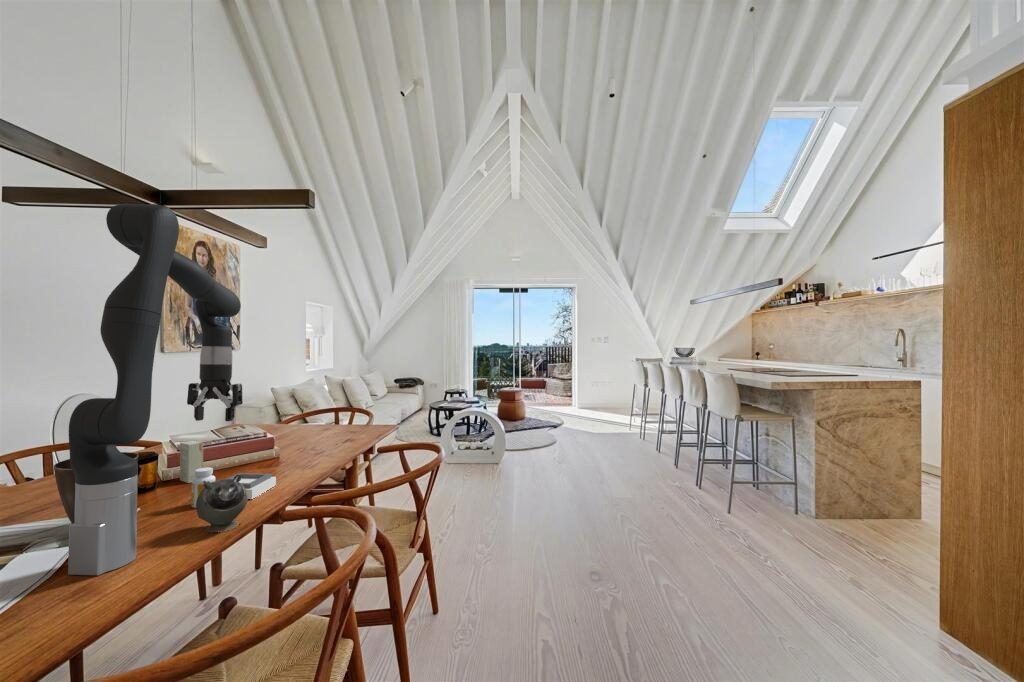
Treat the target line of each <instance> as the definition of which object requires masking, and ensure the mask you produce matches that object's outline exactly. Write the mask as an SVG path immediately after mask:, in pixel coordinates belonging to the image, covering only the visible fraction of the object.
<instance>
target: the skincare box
mask: <svg viewBox="0 0 1024 682" xmlns="http://www.w3.org/2000/svg"><path fill="white" fill-rule="evenodd" d="M200 468H204V442H202V441H198V440H190V441H189V440H188V441H183V442H180V443H179V480H180V482H184V483H186V484H187V483H188V484H190V483H191V484H192V480H193V479H194V478H195V477H196V476H195V470H197V469H200Z"/></svg>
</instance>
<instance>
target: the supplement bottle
mask: <svg viewBox="0 0 1024 682" xmlns="http://www.w3.org/2000/svg"><path fill="white" fill-rule="evenodd" d="M213 472H214V468H213V467H207V466H206V467H203V468H200V469H197V470H195V476H196V477H195V478H194V479H193V480H192V482H191V496H190V497H191V502H190V503H191V507H192V508H194V509H196V501H197V498H198V496H199V494H200V493H201V491H202V490H203V489H204V488H205V487H204V482H203V481H206V482H208V481H209V482H211V483H213V482H215V481H217V479H216V476H215V475H213Z"/></svg>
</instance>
